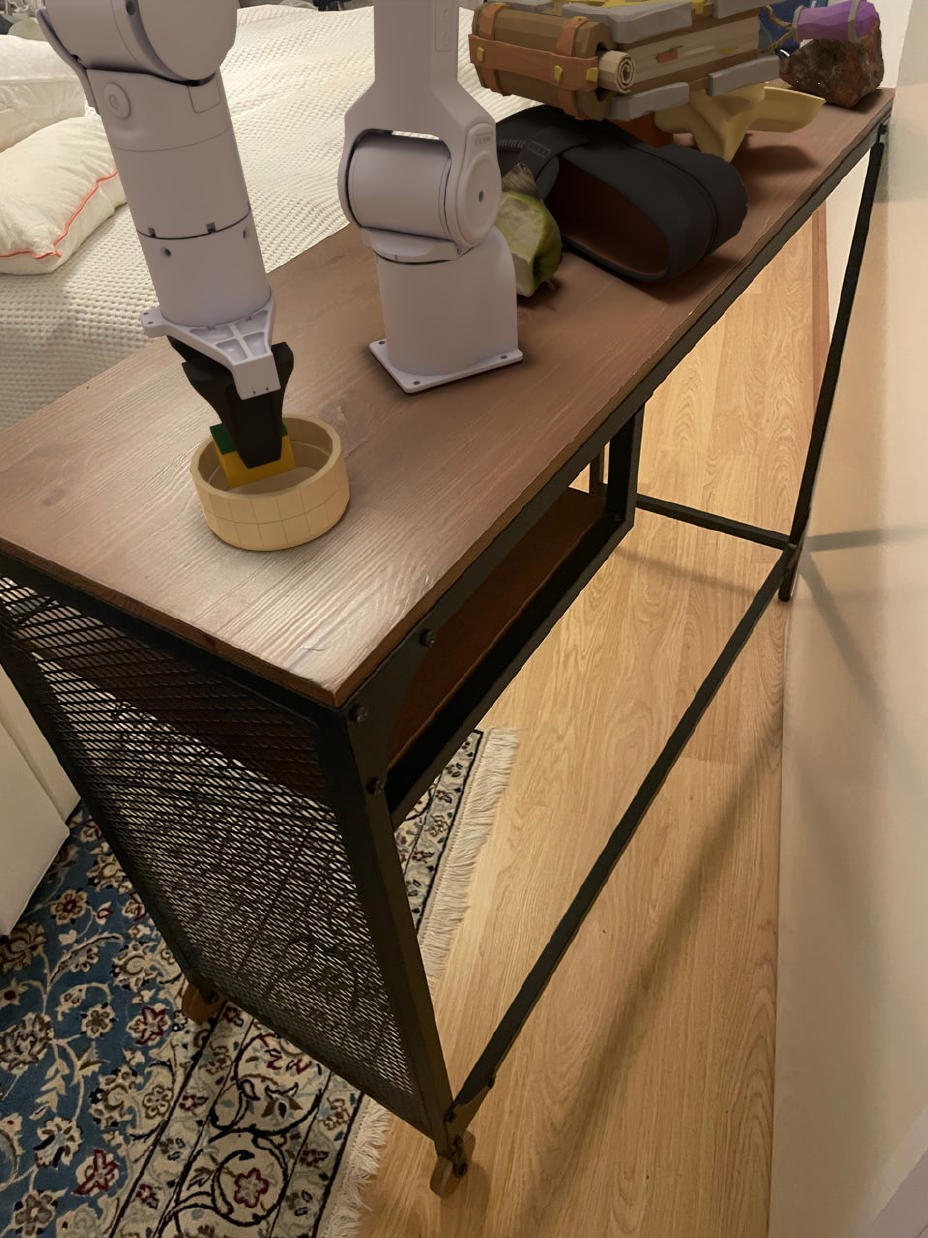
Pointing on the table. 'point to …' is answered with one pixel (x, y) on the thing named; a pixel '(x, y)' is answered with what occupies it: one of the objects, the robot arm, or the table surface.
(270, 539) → the bowl
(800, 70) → the rock
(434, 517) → the table surface
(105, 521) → the table surface
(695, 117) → the beige curved piece
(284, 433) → the sponge
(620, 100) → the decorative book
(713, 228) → the loafer
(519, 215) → the fruit
